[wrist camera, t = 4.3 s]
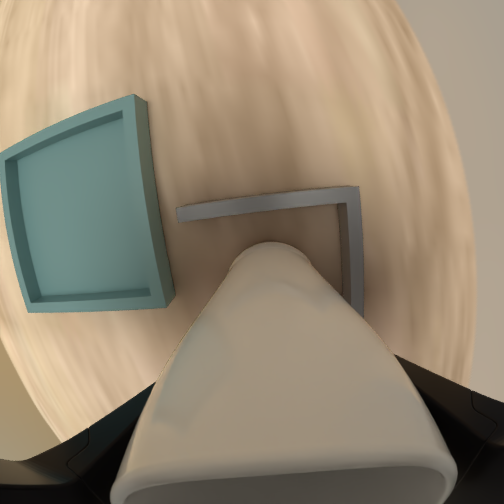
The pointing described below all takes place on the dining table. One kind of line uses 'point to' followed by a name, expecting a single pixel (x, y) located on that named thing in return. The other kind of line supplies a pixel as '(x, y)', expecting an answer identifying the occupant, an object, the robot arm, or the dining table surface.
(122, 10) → the dining table surface
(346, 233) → the dock
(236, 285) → the drinking glass
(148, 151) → the tray
